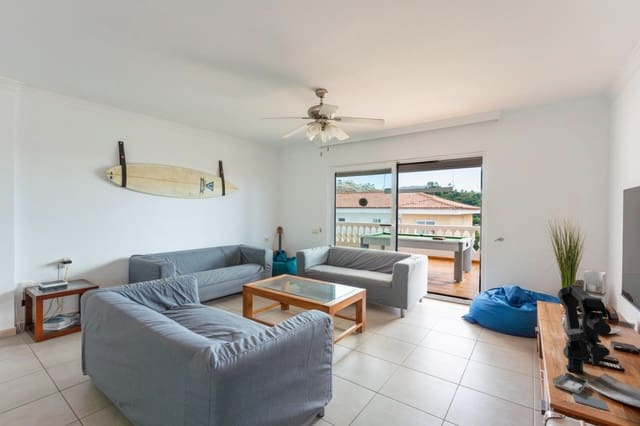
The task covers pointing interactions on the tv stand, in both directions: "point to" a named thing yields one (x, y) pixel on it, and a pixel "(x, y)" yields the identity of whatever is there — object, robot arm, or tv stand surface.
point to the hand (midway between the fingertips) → (589, 360)
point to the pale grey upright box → (595, 285)
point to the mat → (590, 401)
